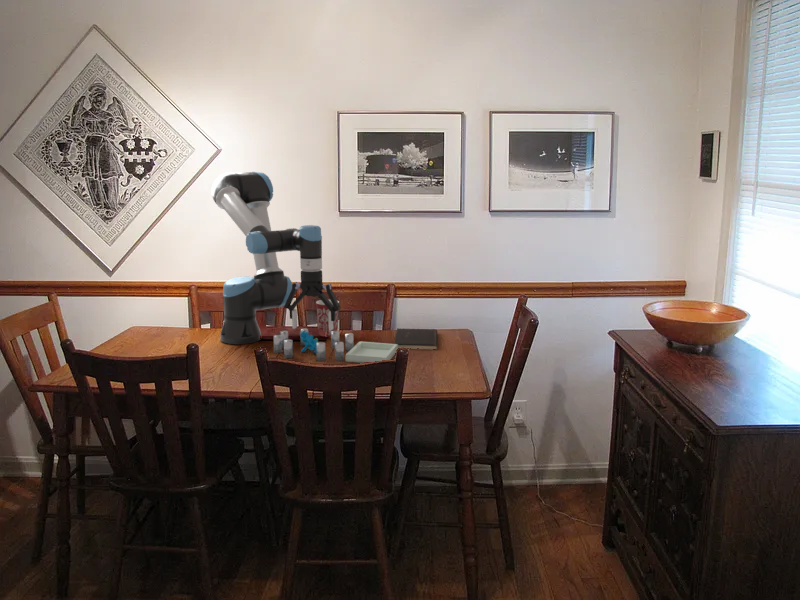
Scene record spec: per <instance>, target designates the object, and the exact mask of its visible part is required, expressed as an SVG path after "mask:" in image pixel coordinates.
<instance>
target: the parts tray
mask: <svg viewBox="0 0 800 600" xmlns="http://www.w3.org/2000/svg"><path fill="white" fill-rule="evenodd" d="M397 349H398V344H394V343H387V342H384V343H383V342H373V341H362V340H361V341H360V340H359V341H358V342H357V343H356V344H354V345H353V348H352V349H351V350H350V351H347V352H346V354H345V362H346V363H347V362H348V363H349V362H350V363H360V364H365V363H364V362H375V361H382V360H390V361H391V360H392V358H393V357H395V355H396V354H397V352H396V350H397ZM398 350H399V349H398ZM395 353H396V354H395Z"/></svg>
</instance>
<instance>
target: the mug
mask: <svg viewBox="0 0 800 600" xmlns="http://www.w3.org/2000/svg"><path fill="white" fill-rule="evenodd" d="M327 299H328V298H327ZM328 300H329V301H330V302H331V300H330V298H329V299H328ZM337 301H338V303H339V304H340V301H339V300H337ZM331 304H332V302H331ZM315 305H316V317H317V327H318V328H317V330H318V329H319V330H322V331H326V332H327V333H328V337H329V338H330V339H331V331H338V325H339V311H340V310H338V311H336V312H335V314H336V319H335V321H333V330H331V331H329V315H328V313H329V312H330V310H329V309H328V308H327V306H326V305H325V304H324V303H323V302H322V300H321V299H319V300H317V301H315ZM332 305H333V304H332ZM329 338H328V339H329Z"/></svg>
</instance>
